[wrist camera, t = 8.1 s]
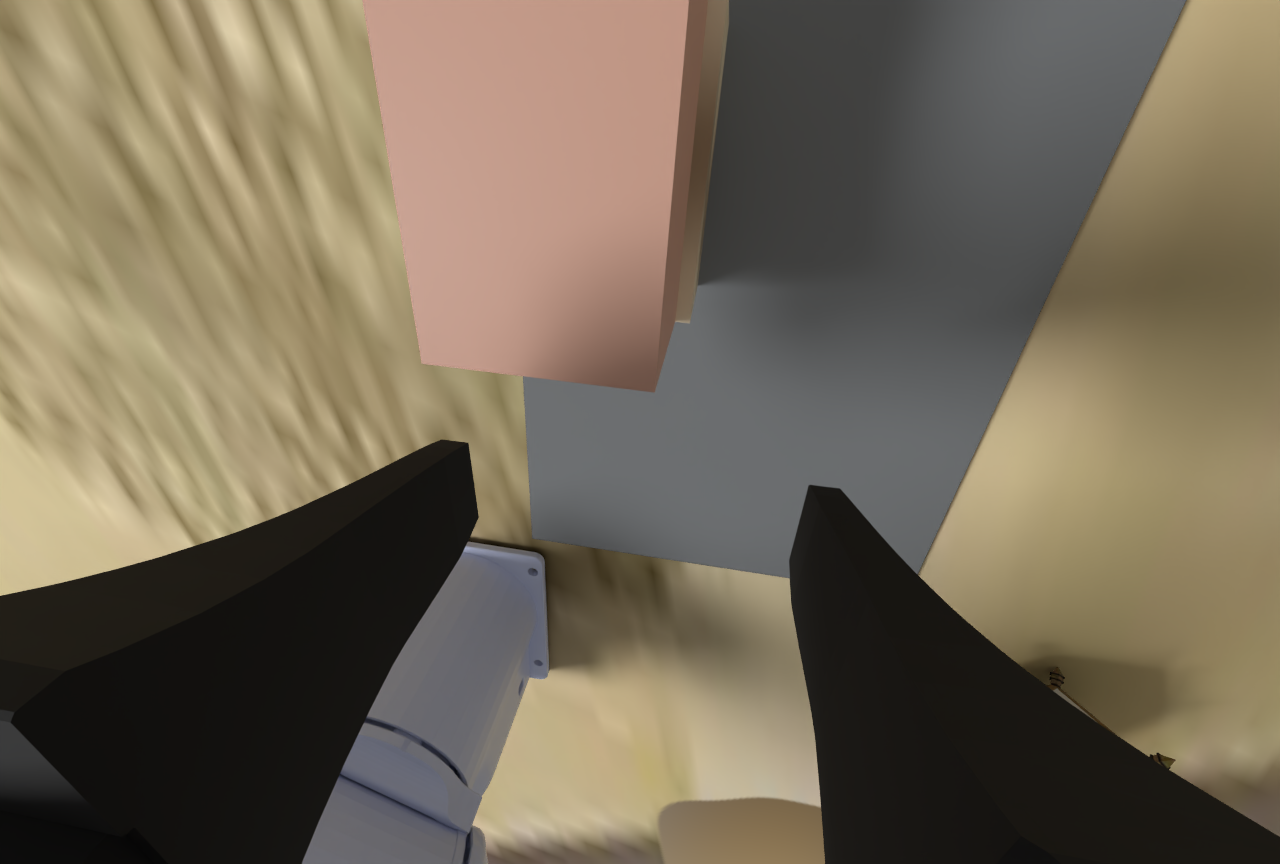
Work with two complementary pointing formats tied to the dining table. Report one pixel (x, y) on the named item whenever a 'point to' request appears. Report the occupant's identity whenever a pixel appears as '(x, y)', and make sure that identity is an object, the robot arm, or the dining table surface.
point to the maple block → (702, 153)
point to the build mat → (852, 273)
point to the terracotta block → (541, 178)
